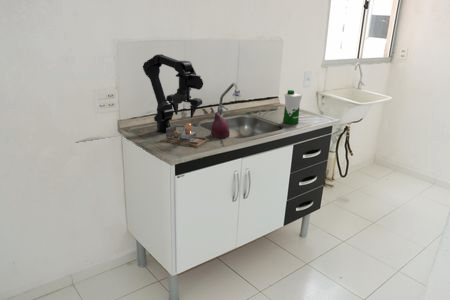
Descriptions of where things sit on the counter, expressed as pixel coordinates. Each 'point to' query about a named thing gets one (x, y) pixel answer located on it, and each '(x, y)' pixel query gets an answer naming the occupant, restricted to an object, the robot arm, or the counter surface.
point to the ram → (187, 133)
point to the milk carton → (291, 107)
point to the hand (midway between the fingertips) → (183, 116)
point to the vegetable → (220, 127)
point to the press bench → (173, 137)
